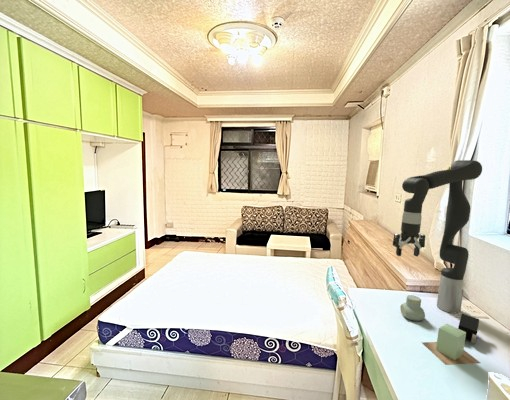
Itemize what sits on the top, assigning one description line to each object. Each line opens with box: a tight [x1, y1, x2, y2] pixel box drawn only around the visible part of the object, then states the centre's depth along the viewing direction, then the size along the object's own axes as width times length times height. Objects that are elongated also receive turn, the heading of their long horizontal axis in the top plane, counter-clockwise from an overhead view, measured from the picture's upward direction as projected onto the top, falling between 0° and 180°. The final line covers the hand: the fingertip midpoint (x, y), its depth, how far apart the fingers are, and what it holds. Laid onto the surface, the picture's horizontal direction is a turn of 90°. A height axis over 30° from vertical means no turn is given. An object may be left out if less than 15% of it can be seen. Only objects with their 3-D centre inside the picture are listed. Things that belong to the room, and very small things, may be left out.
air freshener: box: [399, 294, 426, 322], centre depth 126 cm, size 11×8×10 cm
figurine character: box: [457, 313, 480, 345], centre depth 112 cm, size 7×8×15 cm
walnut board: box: [421, 341, 481, 366], centre depth 102 cm, size 14×12×1 cm
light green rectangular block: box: [436, 323, 466, 360], centre depth 101 cm, size 6×6×9 cm
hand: (407, 255), depth 123 cm, fingers open, 8 cm apart
